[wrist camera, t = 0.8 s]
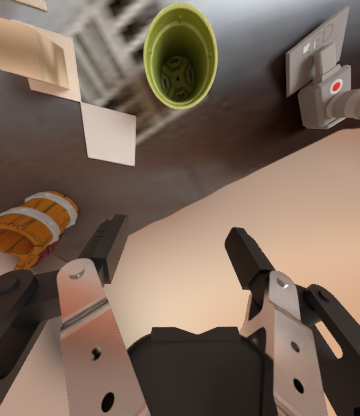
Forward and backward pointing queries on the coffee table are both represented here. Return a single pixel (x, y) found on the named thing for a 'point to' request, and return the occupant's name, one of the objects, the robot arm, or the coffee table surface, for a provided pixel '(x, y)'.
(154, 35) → the plant pot
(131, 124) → the felt pad
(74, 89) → the code tile
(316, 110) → the camera
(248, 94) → the coffee table surface
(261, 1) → the coffee table surface
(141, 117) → the coffee table surface
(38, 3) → the code tile
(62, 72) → the beech block
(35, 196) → the mug
